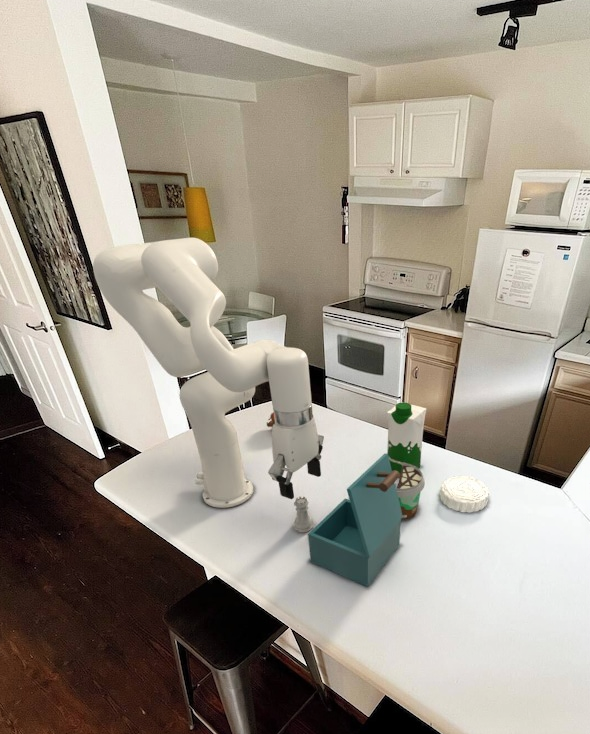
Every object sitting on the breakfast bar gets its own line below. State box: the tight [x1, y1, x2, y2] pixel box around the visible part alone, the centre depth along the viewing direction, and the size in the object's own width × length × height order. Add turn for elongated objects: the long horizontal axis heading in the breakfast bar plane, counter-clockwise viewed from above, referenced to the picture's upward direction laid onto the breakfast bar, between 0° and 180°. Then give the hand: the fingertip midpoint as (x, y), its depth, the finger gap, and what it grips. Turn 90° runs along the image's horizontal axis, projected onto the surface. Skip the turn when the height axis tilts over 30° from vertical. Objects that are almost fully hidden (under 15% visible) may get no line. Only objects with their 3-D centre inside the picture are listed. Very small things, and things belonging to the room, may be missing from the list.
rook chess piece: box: [293, 496, 314, 533], centre depth 101 cm, size 4×4×8 cm
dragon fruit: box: [266, 412, 275, 428], centre depth 140 cm, size 8×8×12 cm
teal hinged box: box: [307, 498, 402, 588], centre depth 94 cm, size 14×14×8 cm
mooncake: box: [439, 475, 490, 514], centre depth 112 cm, size 12×12×4 cm
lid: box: [346, 453, 403, 557], centre depth 84 cm, size 15×14×5 cm
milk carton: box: [386, 401, 427, 474], centre depth 119 cm, size 9×9×20 cm
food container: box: [396, 463, 426, 521], centre depth 106 cm, size 12×6×10 cm, turn 168°
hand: (301, 485), depth 96 cm, fingers open, 9 cm apart
